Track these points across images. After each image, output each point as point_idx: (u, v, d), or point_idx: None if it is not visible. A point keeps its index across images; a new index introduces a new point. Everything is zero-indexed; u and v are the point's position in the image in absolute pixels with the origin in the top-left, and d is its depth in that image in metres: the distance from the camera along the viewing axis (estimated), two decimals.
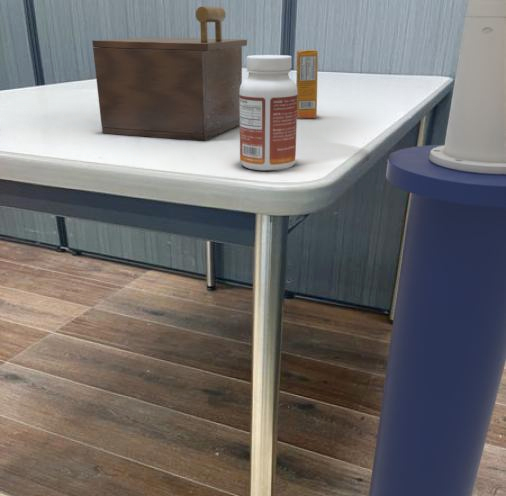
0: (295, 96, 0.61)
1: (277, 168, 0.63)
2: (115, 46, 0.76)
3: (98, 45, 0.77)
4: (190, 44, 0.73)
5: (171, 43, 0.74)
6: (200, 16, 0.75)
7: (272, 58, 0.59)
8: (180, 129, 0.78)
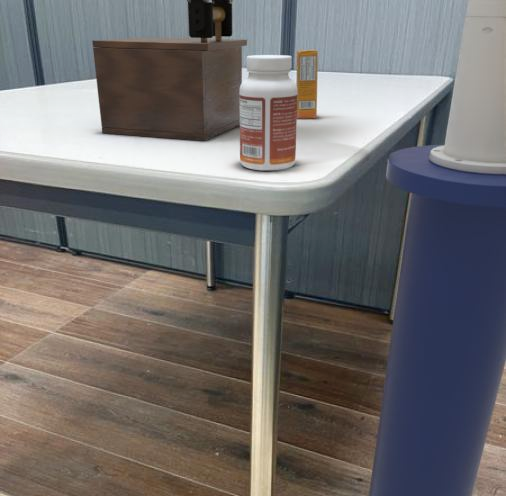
0: (295, 96, 0.61)
1: (277, 168, 0.63)
2: (115, 46, 0.76)
3: (98, 45, 0.77)
4: (190, 44, 0.73)
5: (171, 43, 0.74)
6: None
7: (272, 58, 0.59)
8: (180, 129, 0.78)
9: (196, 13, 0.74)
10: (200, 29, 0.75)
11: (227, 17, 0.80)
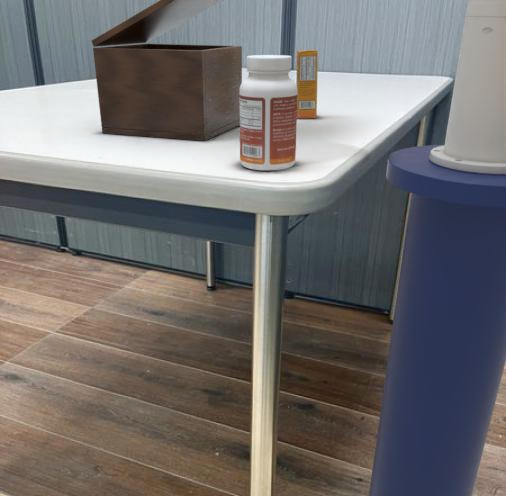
0: (295, 96, 0.61)
1: (277, 168, 0.63)
2: (112, 34, 0.76)
3: (98, 42, 0.77)
4: None
5: (161, 0, 0.72)
6: None
7: (272, 58, 0.59)
8: (180, 129, 0.78)
9: None
10: None
11: None
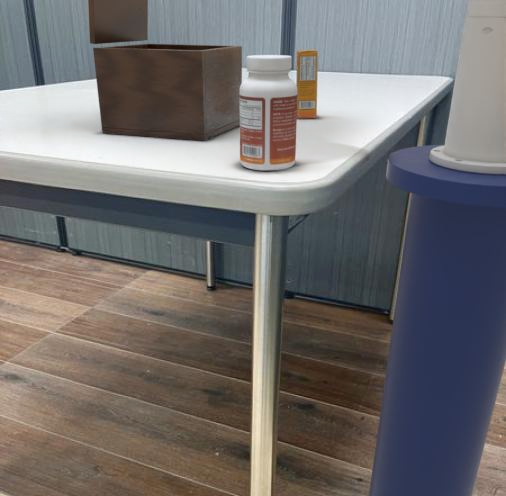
0: (295, 96, 0.61)
1: (277, 168, 0.63)
2: (92, 14, 0.75)
3: (93, 36, 0.77)
4: None
5: None
6: None
7: (272, 58, 0.59)
8: (180, 129, 0.78)
9: None
10: None
11: None
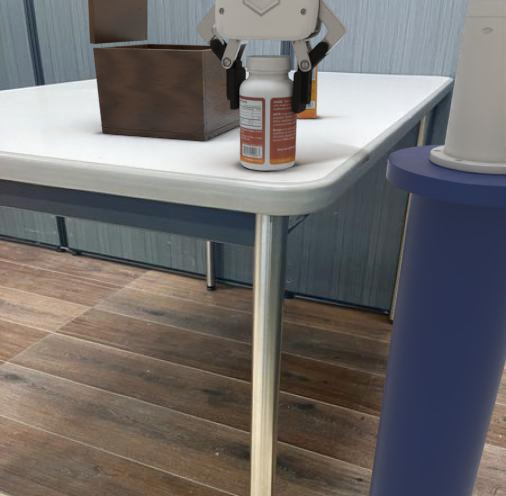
0: None
1: (277, 168, 0.63)
2: (92, 14, 0.75)
3: (93, 36, 0.77)
4: None
5: None
6: None
7: (272, 58, 0.59)
8: (180, 129, 0.78)
9: None
10: (228, 98, 0.63)
11: None
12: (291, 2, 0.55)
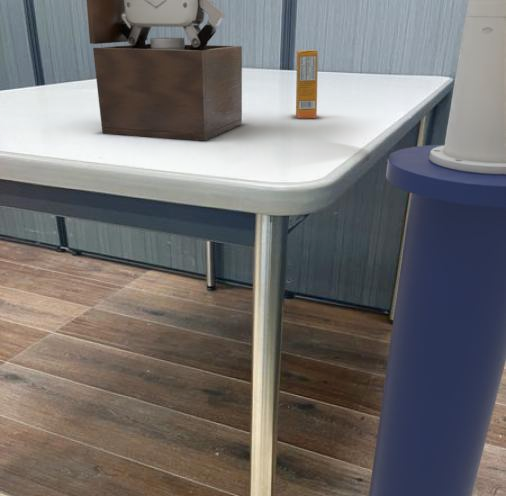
0: None
1: None
2: (91, 14, 0.75)
3: (92, 36, 0.77)
4: None
5: None
6: None
7: (167, 39, 0.79)
8: (180, 129, 0.78)
9: None
10: None
11: None
12: None
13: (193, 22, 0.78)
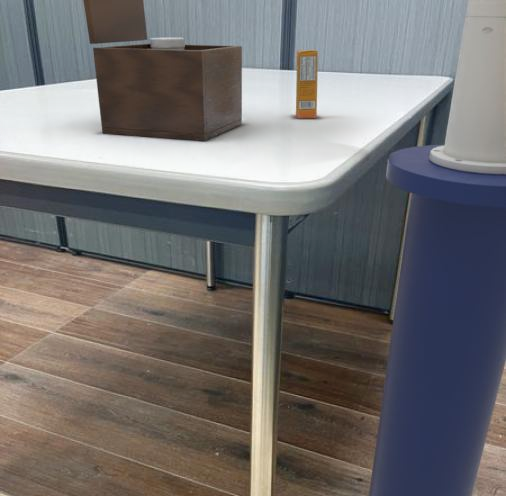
0: None
1: None
2: (89, 14, 0.75)
3: (92, 36, 0.77)
4: None
5: None
6: None
7: (167, 39, 0.79)
8: (180, 129, 0.78)
9: None
10: None
11: None
12: None
13: None
